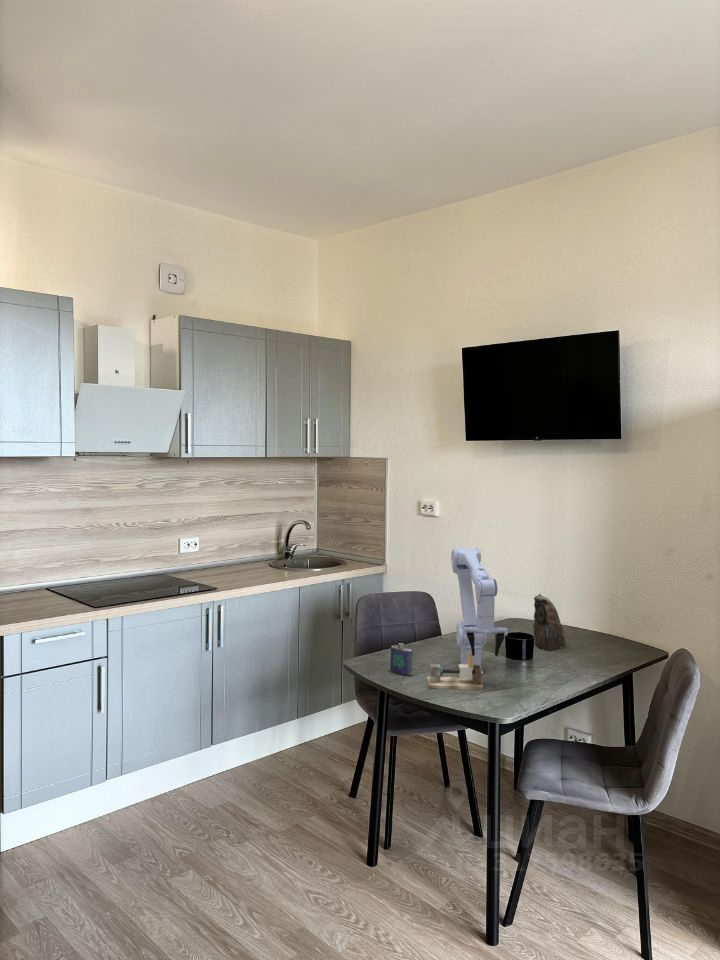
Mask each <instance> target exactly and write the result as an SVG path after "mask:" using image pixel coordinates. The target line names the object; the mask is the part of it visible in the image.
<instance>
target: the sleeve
mask: <svg viewBox="0 0 720 960" xmlns="http://www.w3.org/2000/svg"><path fill="white" fill-rule="evenodd" d="M458 665H459V667H458V670H460V673H458V677H460V679H472V678H473V674H472V654H471V653H468V664H461V663H459V664H458Z"/></svg>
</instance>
